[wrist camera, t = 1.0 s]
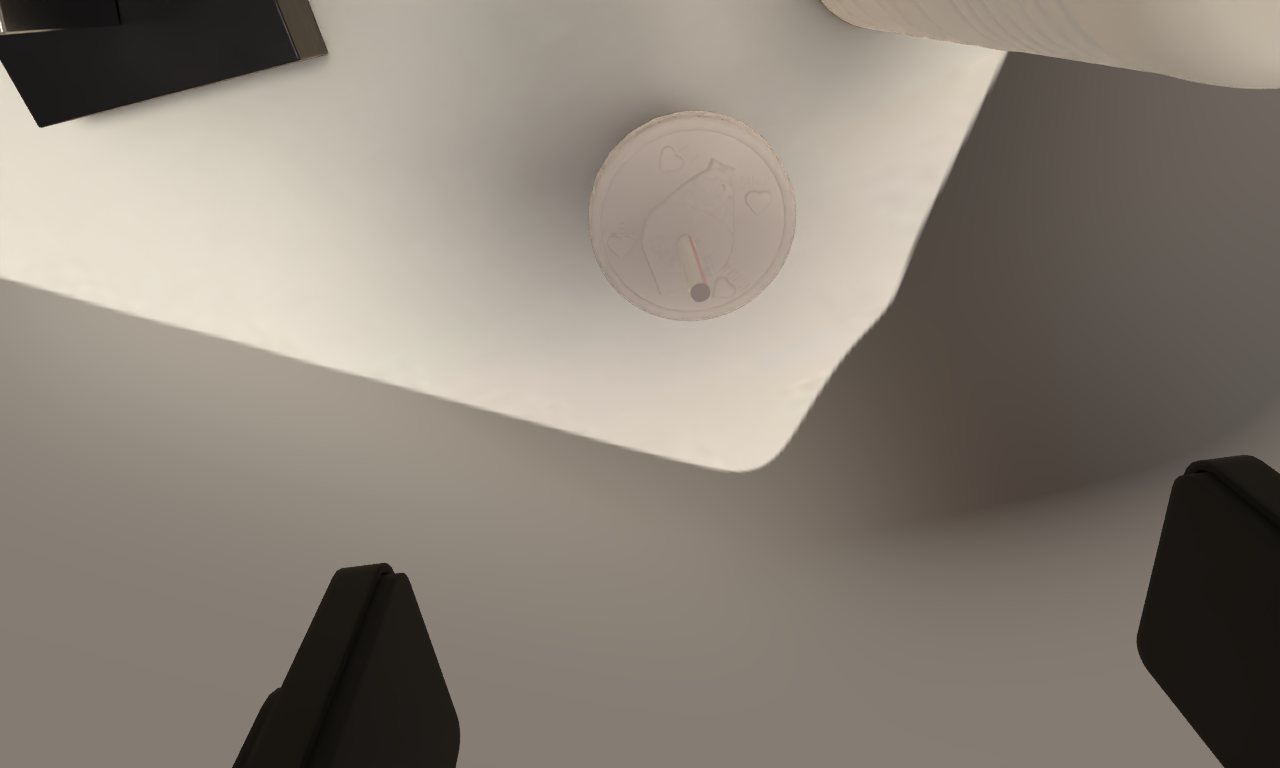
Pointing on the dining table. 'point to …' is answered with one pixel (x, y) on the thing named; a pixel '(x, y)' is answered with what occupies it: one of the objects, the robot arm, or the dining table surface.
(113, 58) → the plate
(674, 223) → the smoothie
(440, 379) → the dining table surface
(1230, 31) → the water bottle
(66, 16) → the silver metal block
